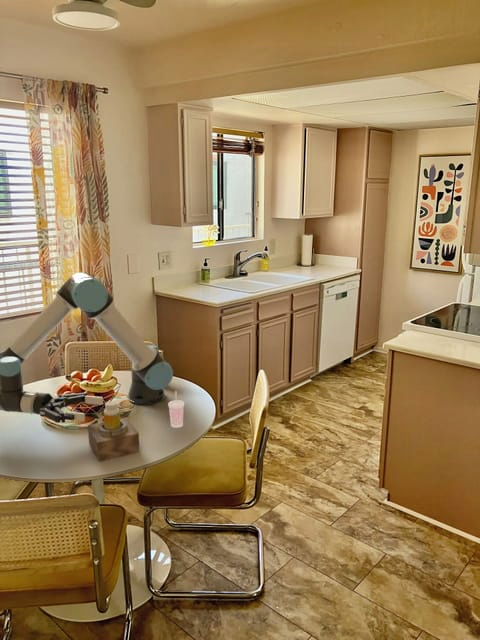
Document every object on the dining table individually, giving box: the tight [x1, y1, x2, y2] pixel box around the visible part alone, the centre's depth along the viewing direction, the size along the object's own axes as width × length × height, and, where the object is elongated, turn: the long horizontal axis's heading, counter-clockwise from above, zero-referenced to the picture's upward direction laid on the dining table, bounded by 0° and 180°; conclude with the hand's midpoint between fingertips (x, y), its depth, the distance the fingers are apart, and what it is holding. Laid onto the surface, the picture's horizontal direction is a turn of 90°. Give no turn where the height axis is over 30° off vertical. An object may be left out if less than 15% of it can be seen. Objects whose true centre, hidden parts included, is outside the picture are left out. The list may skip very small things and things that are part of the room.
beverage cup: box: [167, 390, 185, 428], centre depth 196 cm, size 6×6×14 cm
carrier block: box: [87, 416, 140, 462], centre depth 179 cm, size 14×14×8 cm
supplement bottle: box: [103, 400, 121, 430], centre depth 177 cm, size 5×5×10 cm
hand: (93, 408), depth 178 cm, fingers open, 13 cm apart
